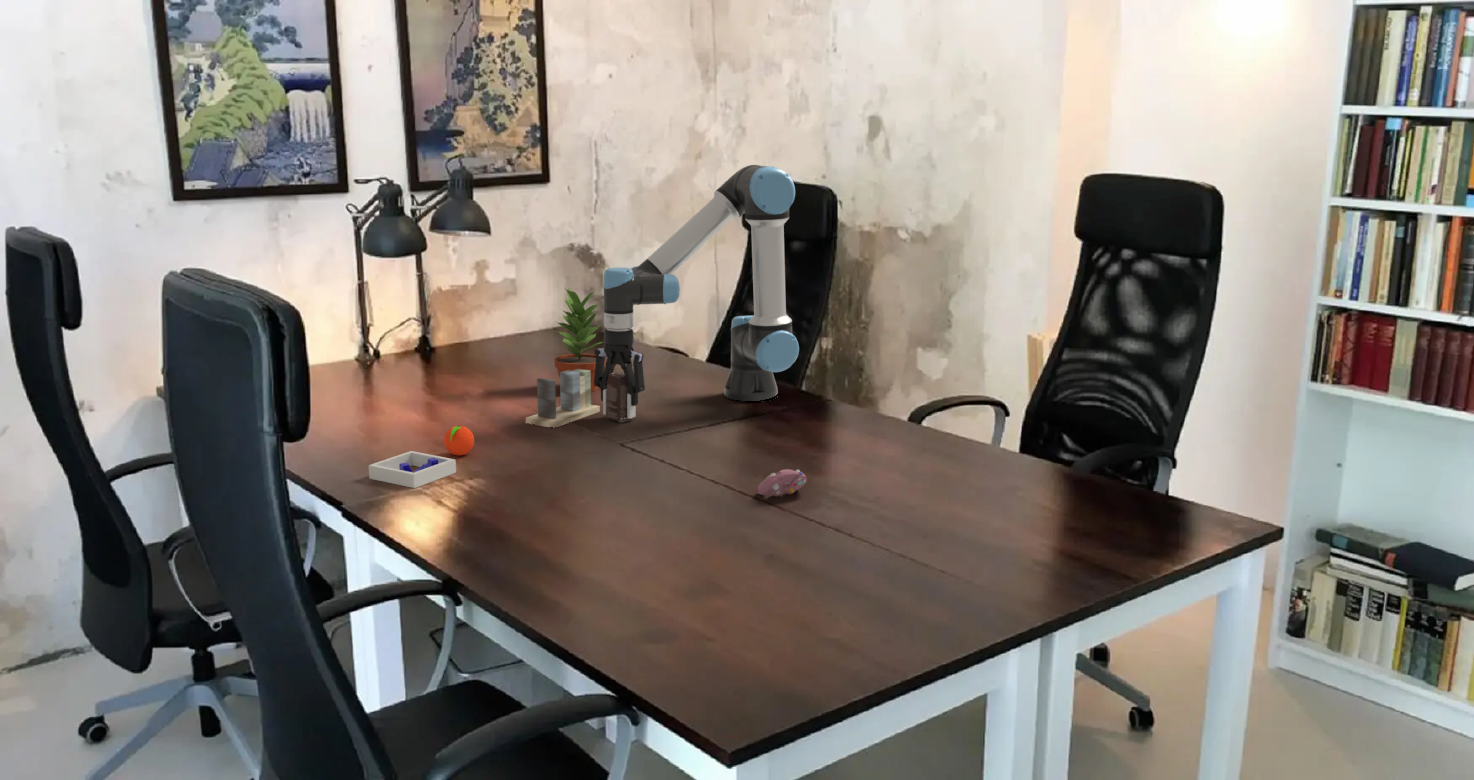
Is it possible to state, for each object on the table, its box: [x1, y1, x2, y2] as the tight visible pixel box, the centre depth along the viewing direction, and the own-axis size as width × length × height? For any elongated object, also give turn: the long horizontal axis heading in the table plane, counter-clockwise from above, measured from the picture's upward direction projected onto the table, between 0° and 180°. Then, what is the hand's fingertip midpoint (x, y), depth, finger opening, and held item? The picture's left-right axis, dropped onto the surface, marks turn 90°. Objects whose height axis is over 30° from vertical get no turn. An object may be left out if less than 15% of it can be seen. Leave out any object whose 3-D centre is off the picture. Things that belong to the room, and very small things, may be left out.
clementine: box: [443, 425, 475, 457], centre depth 277 cm, size 8×7×7 cm
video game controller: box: [757, 468, 808, 497], centre depth 253 cm, size 10×5×7 cm, turn 118°
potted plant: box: [554, 287, 606, 393], centre depth 342 cm, size 15×15×30 cm
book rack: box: [525, 369, 601, 429], centre depth 312 cm, size 9×20×12 cm, turn 151°
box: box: [606, 371, 633, 423], centre depth 311 cm, size 6×4×12 cm
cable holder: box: [399, 458, 438, 473], centre depth 261 cm, size 8×4×4 cm, turn 128°
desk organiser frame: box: [368, 450, 457, 489], centre depth 262 cm, size 13×13×3 cm
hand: (619, 415), depth 312 cm, fingers closed on box, 7 cm apart
